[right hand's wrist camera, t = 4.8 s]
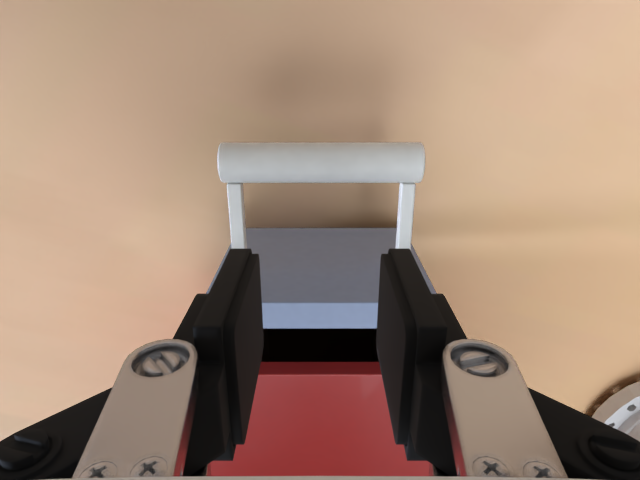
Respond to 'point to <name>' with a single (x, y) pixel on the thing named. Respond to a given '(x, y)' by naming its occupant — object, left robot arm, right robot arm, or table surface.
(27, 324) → the table surface
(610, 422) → the mechanical component
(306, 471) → the red box
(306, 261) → the drawer
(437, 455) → the right robot arm
